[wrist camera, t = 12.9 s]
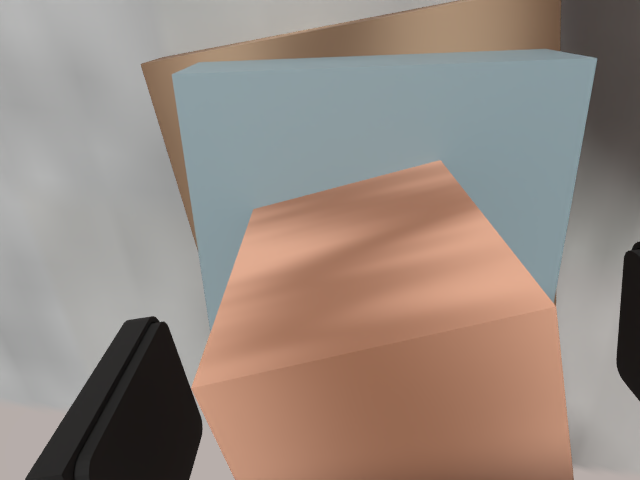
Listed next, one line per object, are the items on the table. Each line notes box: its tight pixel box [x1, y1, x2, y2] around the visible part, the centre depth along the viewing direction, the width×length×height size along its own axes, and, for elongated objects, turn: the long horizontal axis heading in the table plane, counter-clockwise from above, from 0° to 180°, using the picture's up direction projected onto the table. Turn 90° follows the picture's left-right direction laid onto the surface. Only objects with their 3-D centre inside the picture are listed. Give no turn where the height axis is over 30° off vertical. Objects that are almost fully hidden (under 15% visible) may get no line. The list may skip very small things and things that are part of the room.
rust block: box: [191, 160, 574, 480], centre depth 11 cm, size 5×5×7 cm
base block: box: [141, 0, 561, 306], centre depth 18 cm, size 12×12×3 cm
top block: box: [172, 49, 597, 333], centre depth 15 cm, size 10×10×3 cm
